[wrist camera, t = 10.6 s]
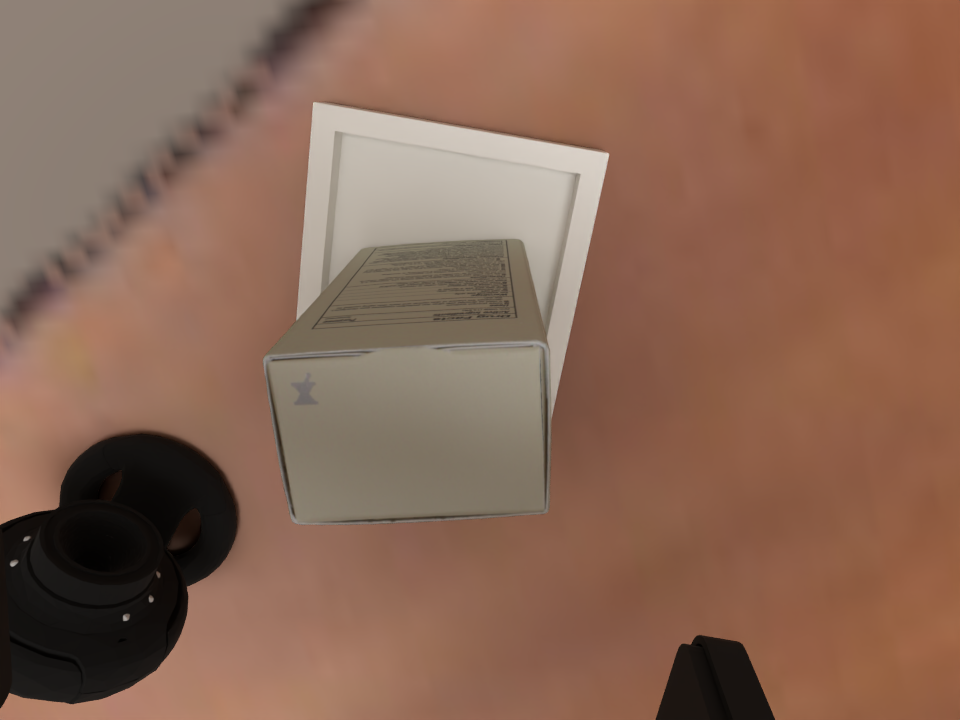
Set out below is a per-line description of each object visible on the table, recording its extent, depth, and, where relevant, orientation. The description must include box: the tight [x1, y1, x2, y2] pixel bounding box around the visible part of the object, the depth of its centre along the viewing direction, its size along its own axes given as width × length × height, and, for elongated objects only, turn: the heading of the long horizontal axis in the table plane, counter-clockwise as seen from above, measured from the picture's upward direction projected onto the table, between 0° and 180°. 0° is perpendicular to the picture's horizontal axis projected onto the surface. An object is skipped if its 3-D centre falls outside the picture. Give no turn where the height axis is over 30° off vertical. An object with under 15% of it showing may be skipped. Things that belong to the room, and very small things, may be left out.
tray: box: [296, 102, 609, 418], centre depth 27 cm, size 10×12×2 cm
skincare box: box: [263, 239, 551, 525], centre depth 21 cm, size 6×4×12 cm
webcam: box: [0, 434, 237, 704], centre depth 27 cm, size 8×8×10 cm
